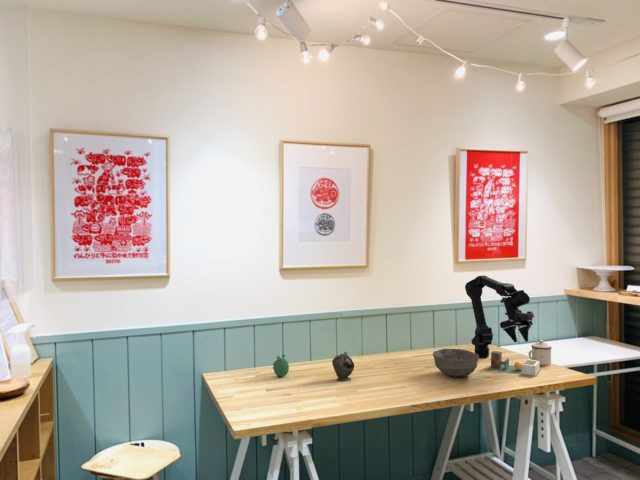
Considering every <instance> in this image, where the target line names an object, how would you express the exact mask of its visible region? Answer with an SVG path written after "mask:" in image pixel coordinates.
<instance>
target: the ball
mask: <svg viewBox="0 0 640 480" xmlns="http://www.w3.org/2000/svg"><path fill="white" fill-rule="evenodd" d="M523 364H524V363H522V362H521V361H516V362H514V364H513V366H514V368H515V369H516V370H522V369H523Z"/></svg>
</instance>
